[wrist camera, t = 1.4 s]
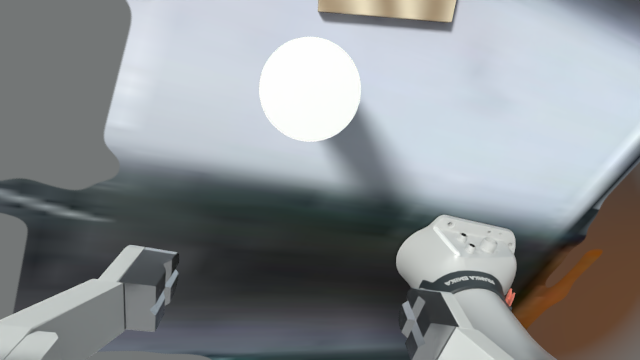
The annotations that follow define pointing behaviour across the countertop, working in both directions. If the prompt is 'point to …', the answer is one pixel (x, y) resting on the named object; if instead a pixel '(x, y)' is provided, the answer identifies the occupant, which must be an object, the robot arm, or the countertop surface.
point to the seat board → (393, 8)
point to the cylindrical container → (310, 89)
